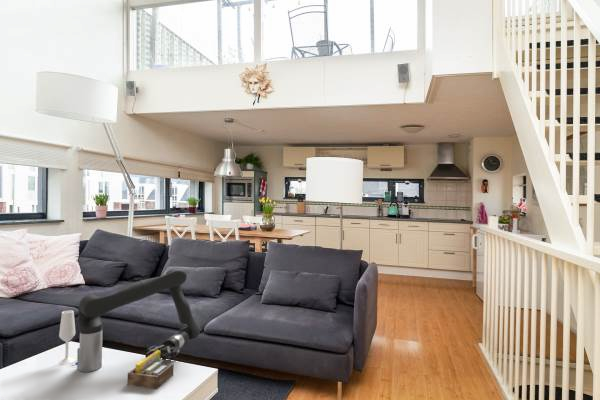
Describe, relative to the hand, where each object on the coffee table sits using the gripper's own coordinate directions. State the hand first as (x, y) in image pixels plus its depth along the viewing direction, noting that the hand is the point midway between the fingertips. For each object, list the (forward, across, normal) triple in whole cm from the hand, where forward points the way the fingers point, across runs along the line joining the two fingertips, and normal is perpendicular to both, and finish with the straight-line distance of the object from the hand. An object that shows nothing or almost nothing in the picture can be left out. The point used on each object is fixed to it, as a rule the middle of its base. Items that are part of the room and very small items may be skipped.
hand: (154, 357), depth 168 cm
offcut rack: (+8, +4, +6) cm, 11 cm away
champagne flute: (+2, -46, +6) cm, 46 cm away
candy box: (+5, 0, +6) cm, 8 cm away
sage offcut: (+8, +4, +6) cm, 11 cm away
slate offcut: (+9, +8, +6) cm, 14 cm away
